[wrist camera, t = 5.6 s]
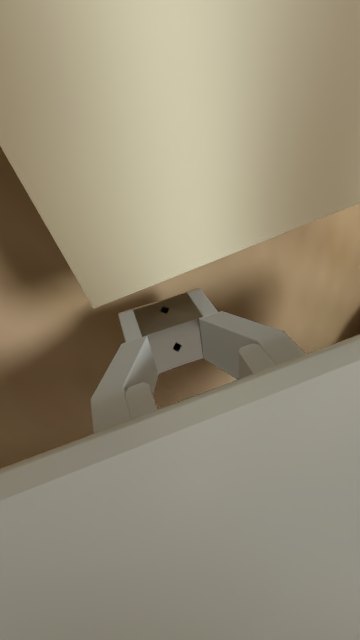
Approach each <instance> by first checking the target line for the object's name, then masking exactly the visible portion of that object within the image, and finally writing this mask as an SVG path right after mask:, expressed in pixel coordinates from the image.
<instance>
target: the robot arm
mask: <svg viewBox="0 0 360 640" xmlns="http://www.w3.org/2000/svg"><path fill="white" fill-rule="evenodd" d="M118 316H119V320H120V324H121V328H122V331H123V335H124V339H125V343H122V344H121V345H120V347H119V349H118V351H117V353H116V354H115V356H114V358H113V360H112V362H111V363H110V365H109V367H108V369H107V371H106V372H105V374H104V376H103V378H102V380H101V381H100V383H99V385H98V387H97V389H96V390H95V392H94V394H93V396H92V398H91V410H92V421H93V432H94V434H91V435H89V436H86V437H83V438H81V439H78V440H75V441H73V442H70V443H67V444H65V445H62V446H59V447H57V448H54V449H51V450H49V451H46V452H43V453H41V454H38V455H35V456H33V457H30V458H27V459H24V460H22V461H19V462H16V463H14V464H11V465H8V466H6V467H3V468H0V640H360V334H359V335H356V336H354V337H351V338H348V339H346V340H343V341H340V342H338V343H335V344H332V345H330V346H327V347H324V348H322V349H319V350H316V351H314V352H311V353H308V354H305V352H304V351H303V350H302V349H301V348H300V347H299V346H298V345H297V344H296V343H295V342H294V341H293V340H292V339H291V338H290V337H289V336H288V335H287V334H286V333H285V332H284V331H281V330H278V329H275V328H272V327H269V326H266V325H263V324H260V323H257V322H254V321H251V320H248V319H245V318H242V317H239V316H236V315H233V314H230V313H227V312H224V311H220V312H218V311H217V310H216V308H215V307H214V306H213V305H212V303H211V302H210V301H209V299H208V298H207V297H206V295H205V294H204V293H203V291H202V290H201V289H200V288H197V289H194V290H191V291H188V292H186V293H183V294H180V295H177V296H174V297H171V298H168V299H165V300H161V301H157V302H153V303H150V304H147V305H143V306H140V307H136V308H133V310H132V309H129V310H126V311H123V312H119V313H118ZM202 358H204V359H205V360H206V361H208V362H210V363H211V364H213V365H215V366H216V367H218V368H220V369H221V370H223V371H225V372H226V373H228V374H230V375H231V376H233V377H235V378H236V379H238V380H236V381H233V382H231V383H228V384H225V385H222V386H220V387H217V388H214V389H212V390H209V391H206V392H204V393H201V394H198V395H196V396H193V397H190V398H188V399H185V400H182V401H180V402H177V403H174V404H172V405H169V406H166V407H164V408H161V409H158V410H157V407H156V404H155V401H154V398H153V394H154V390H155V387H156V383H157V379H158V376H159V375H158V374H160V373H162V372H165V371H167V370H170V369H173V368H175V367H178V366H181V365H184V364H187V363H190V362H193V361H196V360H199V359H202Z"/></svg>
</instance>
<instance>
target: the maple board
mask: <svg viewBox="0 0 360 640" xmlns="http://www.w3.org/2000/svg"><path fill="white" fill-rule="evenodd" d="M0 146H1V148H2V150H3V152H4V153H5V155H6V157H7V159H8V160H9V162H10V164H11V166H12V167H13V169H14V171H15V173H16V174H17V176H18V178H19V180H20V181H21V183H22V185H23V186H24V188H25V190H26V192H27V193H28V195H29V197H30V199H31V200H32V202H33V204H34V206H35V207H36V209H37V211H38V213H39V214H40V216H41V218H42V220H43V221H44V223H45V225H46V226H47V228H48V230H49V232H50V233H51V235H52V237H53V239H54V240H55V242H56V244H57V246H58V247H59V249H60V251H61V253H62V254H63V256H64V258H65V259H66V261H67V263H68V265H69V266H70V268H71V270H72V272H73V273H74V275H75V277H76V279H77V280H78V282H79V284H80V286H81V287H82V289H83V291H84V293H85V294H86V296H87V298H88V299H89V301H90V303H91V305H92V306H93V308H97V307H99V306H102V305H104V304H107V303H109V302H112V301H115V300H117V299H120V298H122V297H125V296H127V295H130V294H132V293H135V292H137V291H140V290H142V289H145V288H147V287H150V286H152V285H155V284H157V283H160V282H162V281H165V280H167V279H170V278H172V277H175V276H177V275H180V274H182V273H185V272H187V271H190V270H192V269H195V268H197V267H200V266H202V265H205V264H207V263H210V262H212V261H215V260H217V259H220V258H222V257H225V256H227V255H230V254H232V253H235V252H238V251H240V250H243V249H245V248H248V247H250V246H253V245H255V244H258V243H260V242H263V241H265V240H268V239H270V238H273V237H275V236H278V235H280V234H283V233H285V232H288V231H290V230H293V229H295V228H298V227H300V226H303V225H305V224H308V223H310V222H313V221H315V220H318V219H320V218H323V217H325V216H328V215H330V214H333V213H335V212H338V211H340V210H343V209H345V208H348V207H350V206H353V205H355V204H358V203H360V0H0Z"/></svg>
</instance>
